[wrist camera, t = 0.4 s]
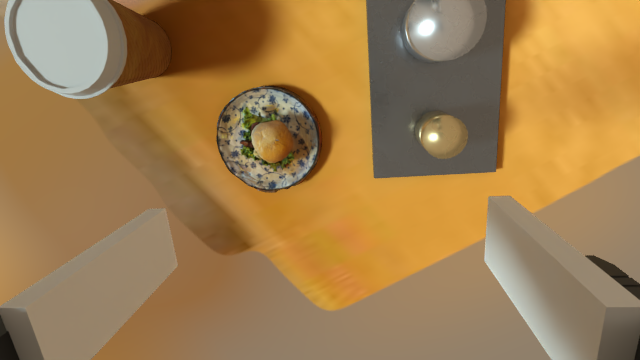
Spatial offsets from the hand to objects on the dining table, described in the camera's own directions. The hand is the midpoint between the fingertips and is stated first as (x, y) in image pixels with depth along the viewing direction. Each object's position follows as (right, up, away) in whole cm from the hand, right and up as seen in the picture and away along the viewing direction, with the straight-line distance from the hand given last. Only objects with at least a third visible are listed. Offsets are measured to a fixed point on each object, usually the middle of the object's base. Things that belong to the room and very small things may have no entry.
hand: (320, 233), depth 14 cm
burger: (-6, +7, +26) cm, 28 cm away
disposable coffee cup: (-19, +17, +25) cm, 36 cm away
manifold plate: (+12, +13, +22) cm, 28 cm away
